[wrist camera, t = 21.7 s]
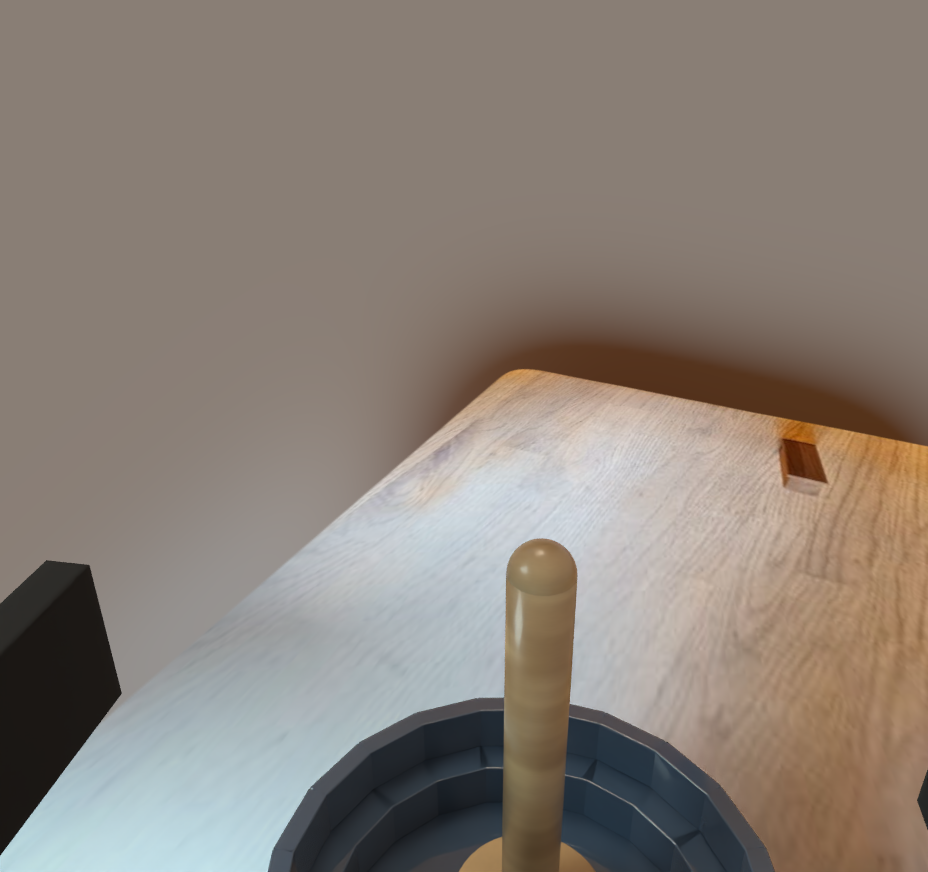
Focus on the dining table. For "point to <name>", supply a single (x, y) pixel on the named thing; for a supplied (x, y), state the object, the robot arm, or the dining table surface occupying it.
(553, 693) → the beech masher
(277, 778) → the dining table surface
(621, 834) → the dark grey round dish
